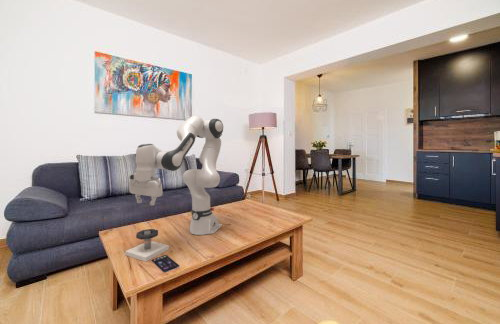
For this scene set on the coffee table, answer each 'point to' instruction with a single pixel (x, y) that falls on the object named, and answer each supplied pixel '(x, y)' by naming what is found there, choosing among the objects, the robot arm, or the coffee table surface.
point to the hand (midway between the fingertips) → (145, 204)
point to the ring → (141, 234)
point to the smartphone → (165, 263)
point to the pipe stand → (147, 249)
